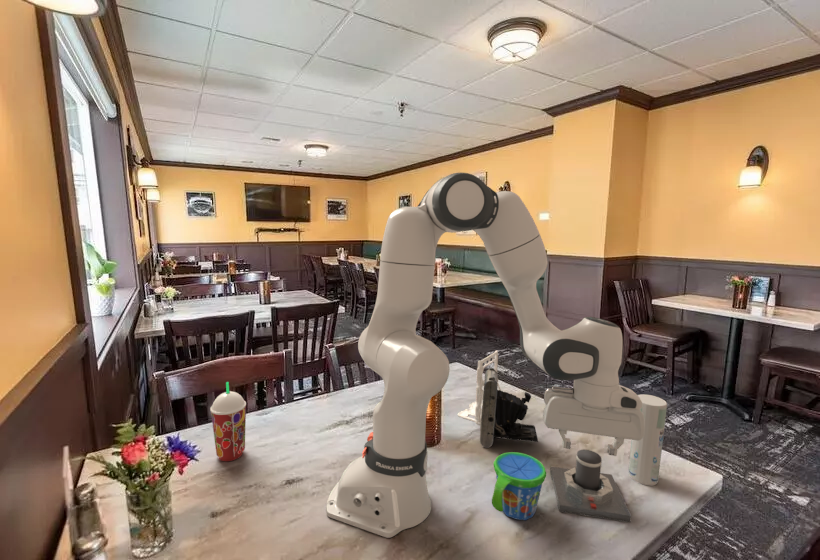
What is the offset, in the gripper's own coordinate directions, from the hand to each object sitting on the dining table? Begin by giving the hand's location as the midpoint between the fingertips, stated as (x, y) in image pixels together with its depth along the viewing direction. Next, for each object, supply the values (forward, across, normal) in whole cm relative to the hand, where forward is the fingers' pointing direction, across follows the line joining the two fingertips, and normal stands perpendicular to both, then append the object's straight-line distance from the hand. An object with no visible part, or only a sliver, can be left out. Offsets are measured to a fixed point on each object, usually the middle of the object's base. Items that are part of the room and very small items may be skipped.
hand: (588, 450), depth 88 cm
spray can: (+11, +16, +11) cm, 22 cm away
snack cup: (+12, -15, -8) cm, 21 cm away
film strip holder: (+11, -24, +35) cm, 43 cm away
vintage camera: (+11, -16, +20) cm, 28 cm away
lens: (+10, +1, +1) cm, 10 cm away
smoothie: (+14, -87, -5) cm, 88 cm away
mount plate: (+11, +1, +1) cm, 11 cm away
